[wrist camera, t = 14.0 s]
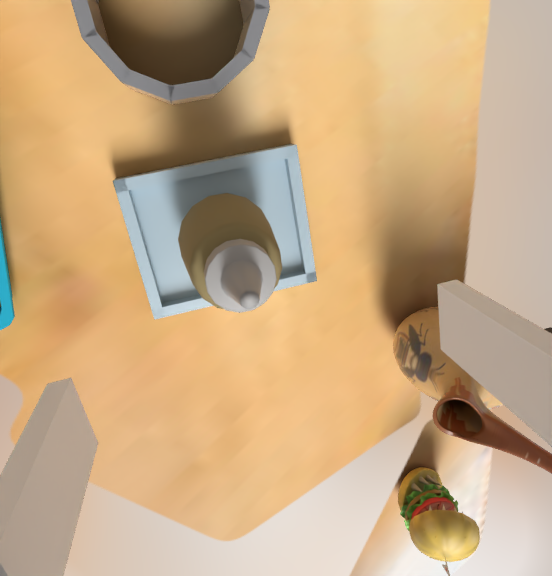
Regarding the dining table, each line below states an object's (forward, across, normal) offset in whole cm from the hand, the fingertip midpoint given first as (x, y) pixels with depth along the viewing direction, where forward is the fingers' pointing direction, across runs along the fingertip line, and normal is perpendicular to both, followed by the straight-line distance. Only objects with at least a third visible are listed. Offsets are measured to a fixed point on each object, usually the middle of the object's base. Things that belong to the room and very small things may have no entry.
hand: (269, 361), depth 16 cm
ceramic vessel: (+29, +20, -18) cm, 39 cm away
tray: (+29, 0, -2) cm, 29 cm away
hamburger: (+29, +17, -40) cm, 52 cm away
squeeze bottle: (+28, 0, -2) cm, 28 cm away
